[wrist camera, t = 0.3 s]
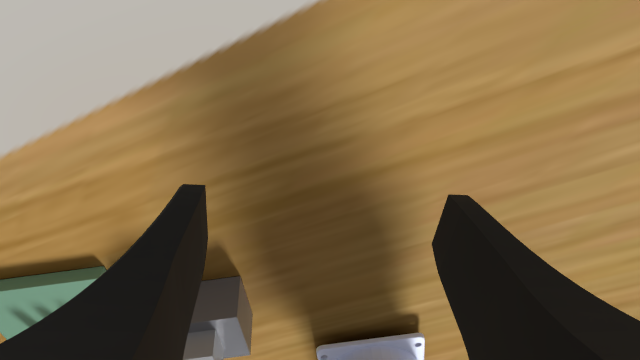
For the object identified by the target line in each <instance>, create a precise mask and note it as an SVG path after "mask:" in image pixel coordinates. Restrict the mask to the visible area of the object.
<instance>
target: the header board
mask: <svg viewBox="0 0 640 360" xmlns="http://www.w3.org/2000/svg"><path fill="white" fill-rule="evenodd" d="M104 272H106V269H105V267H104V266H101V267H93V268H86V269H78V270H71V271H63V272H56V273H48V274H40V275H33V276H25V277H18V278H10V279H3V280H0V333H1V334H2V335H3V336H4V337H5V338H6V339H7V340H8V339H10V338H12V337H13V336H15V335H17V334H19V333H20V332H22V331H24V330H26V329H27V328H29V327H31V326H32V325H34V324H35V323H37V322H38V321H40V320H42V319H43V318H45V317H46V316H48V315H49V314H51V313H52V312H54V311H55V310H57V309H58V308H60V307H61V306H63V305H64V304H65V303H67V302H68V301H70V300H71V299H72V298H74V297H75V296H76V295H78V294H79V293H80V292H81V291H83V290H84V289H85V288H86V287H88V286H89V285H90V284H91V283H93V282H94V281H95V280H96V279H98V278H99V277H100V276H101V275H102V274H103V273H104Z"/></svg>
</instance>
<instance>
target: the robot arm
mask: <svg viewBox="0 0 640 360" xmlns="http://www.w3.org/2000/svg"><path fill="white" fill-rule="evenodd" d="M207 242H208V230H207V210H206V191H205V185H189V184H183V185H182V186H181V187H179V189H178V190H177V192H176V193H175V195H174V196H173V197H172V199H171V200H170V202H169V203H168V204H167V206H166V207H165V208H164V210H163V211H162V212H161V213H160V215H159V216H158V217H157V218H156V219H155V221H154V222H153V223H152V224H151V225H150V227H149V228H148V229H147V230H146V231H145V233H144V234H143V235H142V236H141V237H140V238H139V239H138V240H137V241H136V242H135V243H134V244H133V245H132V246H131V248H130V249H129V250H128V251H127V252H126V253H125V254H124V255H123V256H122V257H121V258H120V259H119V260H118V261H117V262H115V263H114V264H113V265H112V266H111V267H110V268H109V269H108V270H107V271H106V272H104V273H103V274H102V275H101V276H100V277H99V278H98V279H96V280H95V281H94V282H93V283H91V284H90V285H89V286H88V287H86V288H85V289H84V290H83V291H81V292H80V293H79V294H78V295H76V296H75V297H74V298H72V299H71V300H70V301H68V302H67V303H65V304H64V305H63V306H61V307H60V308H58V309H57V310H55V311H54V312H52V313H51V314H49V315H48V316H46V317H45V318H43V319H42V320H40V321H38V322H37V323H35V324H34V325H32V326H31V327H29V328H27V329H26V330H24V331H22V332H20V333H19V334H17V335H15V336H13V337H12V338H10V339H8V340H6V341H4V342H3V343H1V344H0V360H183V356H184V350H185V345H186V340H187V336H188V332H189V328H190V324H191V320H192V316H193V312H194V308H195V304H196V300H197V296H198V292H199V288H200V284H201V280H202V276H203V271H204V266H205V258H206V250H207ZM432 247H433V252H434V257H435V261H436V266H437V270H438V274H439V276H440V279H441V282H442V285H443V287H444V290H445V293H446V296H447V298H448V301H449V303H450V306H451V309H452V311H453V314H454V317H455V319H456V322H457V324H458V327H459V330H460V332H461V335H462V338H463V341H464V344H465V347H466V350H467V353H468V357H469V360H640V321H639V320H637V319H635V318H633V317H631V316H629V315H627V314H626V313H624V312H622V311H620V310H618V309H616V308H615V307H613V306H611V305H610V304H608V303H606V302H605V301H603V300H601V299H599V298H598V297H596V296H594V295H593V294H591V293H590V292H588V291H586V290H585V289H583V288H582V287H580V286H579V285H577V284H576V283H574V282H573V281H571V280H570V279H568V278H567V277H565V276H564V275H563V274H561V273H560V272H558V271H557V270H556V269H554V268H553V267H551V266H550V265H549V264H547V263H546V262H545V261H544V260H542V259H541V258H540V257H539V256H537V255H536V254H535V253H534V252H532V251H531V250H530V249H529V248H527V247H526V246H525V245H524V244H523V243H521V242H520V241H519V240H518V239H517V238H516V237H514V236H513V235H512V234H511V233H510V232H509V231H508V230H507V229H505V228H504V227H503V226H502V225H501V224H500V223H499V222H498V221H497V220H495V219H494V218H493V217H492V216H491V215H490V214H489V213H488V212H487V211H485V210H484V209H483V208H482V207H481V206H480V205H479V204H478V203H477V202H475V201H474V200H473V199H472V198H471V197H469V196H468V195H448V198H447V201H446V204H445V206H444V209H443V212H442V215H441V218H440V221H439V224H438V227H437V230H436V233H435V236H434V239H433V242H432ZM424 347H425V339H424V335H423V334H422V333H411V334H403V335H396V336H388V337H380V338H373V339H365V340H357V341H350V342H342V343H334V344H327V345H321V346H318V347H317V349H316V353H317V358H318V360H424Z"/></svg>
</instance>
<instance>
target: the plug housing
mask: <svg viewBox="0 0 640 360" xmlns="http://www.w3.org/2000/svg"><path fill="white" fill-rule="evenodd" d="M251 333H252V311H251V308H250V305H249V302H248V298H247V295H246V292H245V289H244V286H243V283H242V280H241V277H240V276H237V277H230V278H222V279H215V280H207V281H201V284H200V288H199V292H198V296H197V300H196V304H195V308H194V312H193V316H192V320H191V324H190V328H189V332H188V336H187V340H186V345H185V350H184V356H183V360H223V358H231V357H239V356H246V355H250V352H251Z"/></svg>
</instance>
